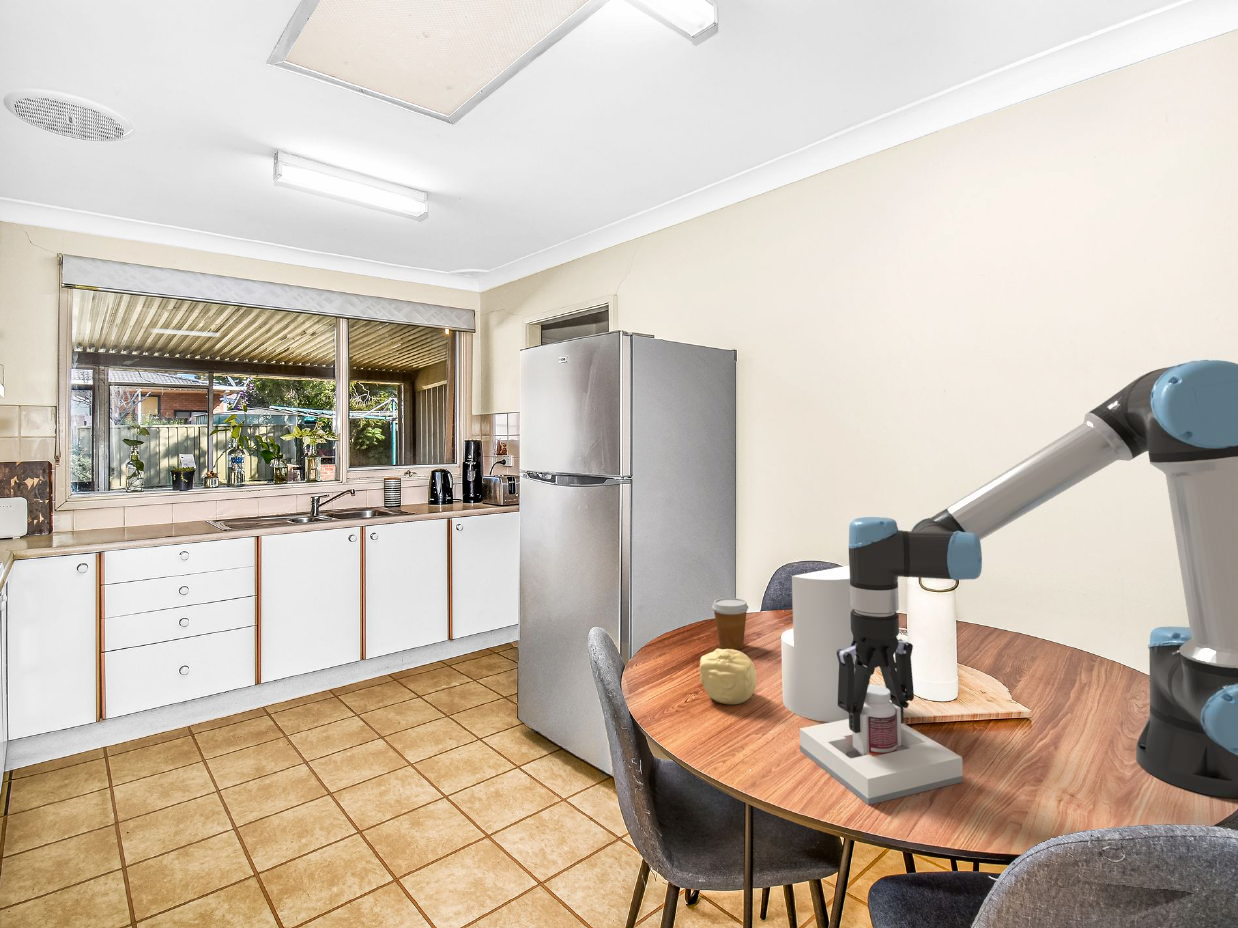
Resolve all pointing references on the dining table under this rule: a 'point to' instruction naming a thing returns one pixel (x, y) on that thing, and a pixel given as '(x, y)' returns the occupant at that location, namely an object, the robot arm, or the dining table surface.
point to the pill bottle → (879, 721)
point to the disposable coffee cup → (730, 622)
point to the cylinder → (817, 644)
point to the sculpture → (728, 676)
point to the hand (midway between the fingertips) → (877, 745)
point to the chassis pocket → (881, 762)
